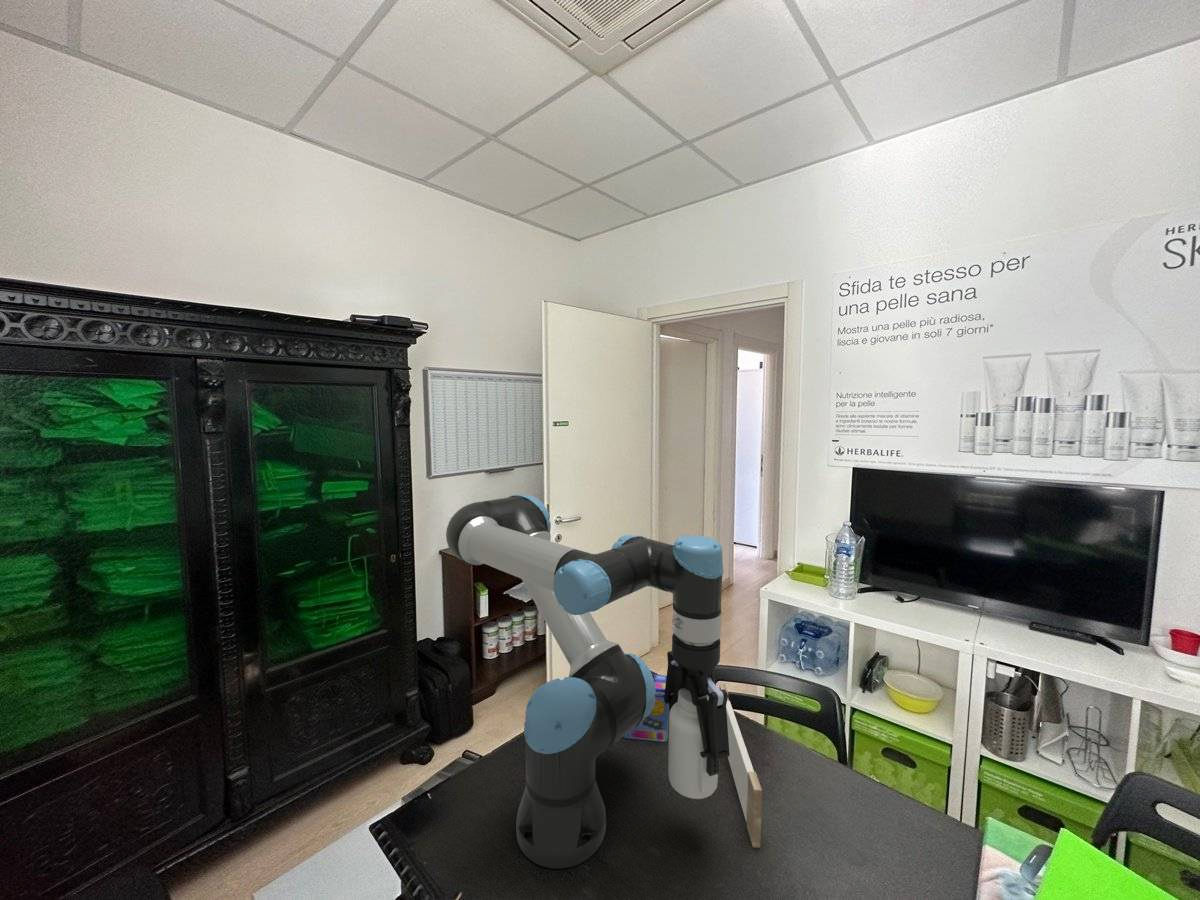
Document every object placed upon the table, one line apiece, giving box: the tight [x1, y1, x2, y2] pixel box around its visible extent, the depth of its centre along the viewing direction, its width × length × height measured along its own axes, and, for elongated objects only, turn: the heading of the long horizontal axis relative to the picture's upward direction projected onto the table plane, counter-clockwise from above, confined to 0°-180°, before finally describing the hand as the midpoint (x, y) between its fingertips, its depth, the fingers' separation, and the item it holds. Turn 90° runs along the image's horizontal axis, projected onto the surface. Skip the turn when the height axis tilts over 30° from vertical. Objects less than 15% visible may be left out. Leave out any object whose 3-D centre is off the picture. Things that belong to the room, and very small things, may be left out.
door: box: [726, 697, 755, 823], centre depth 90 cm, size 1×21×9 cm, turn 176°
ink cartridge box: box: [622, 673, 669, 743], centre depth 102 cm, size 10×6×14 cm, turn 83°
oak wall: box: [718, 683, 763, 849], centre depth 90 cm, size 1×29×10 cm, turn 177°
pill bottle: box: [667, 688, 719, 800], centre depth 76 cm, size 8×8×15 cm
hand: (692, 768), depth 76 cm, fingers closed on pill bottle, 8 cm apart
